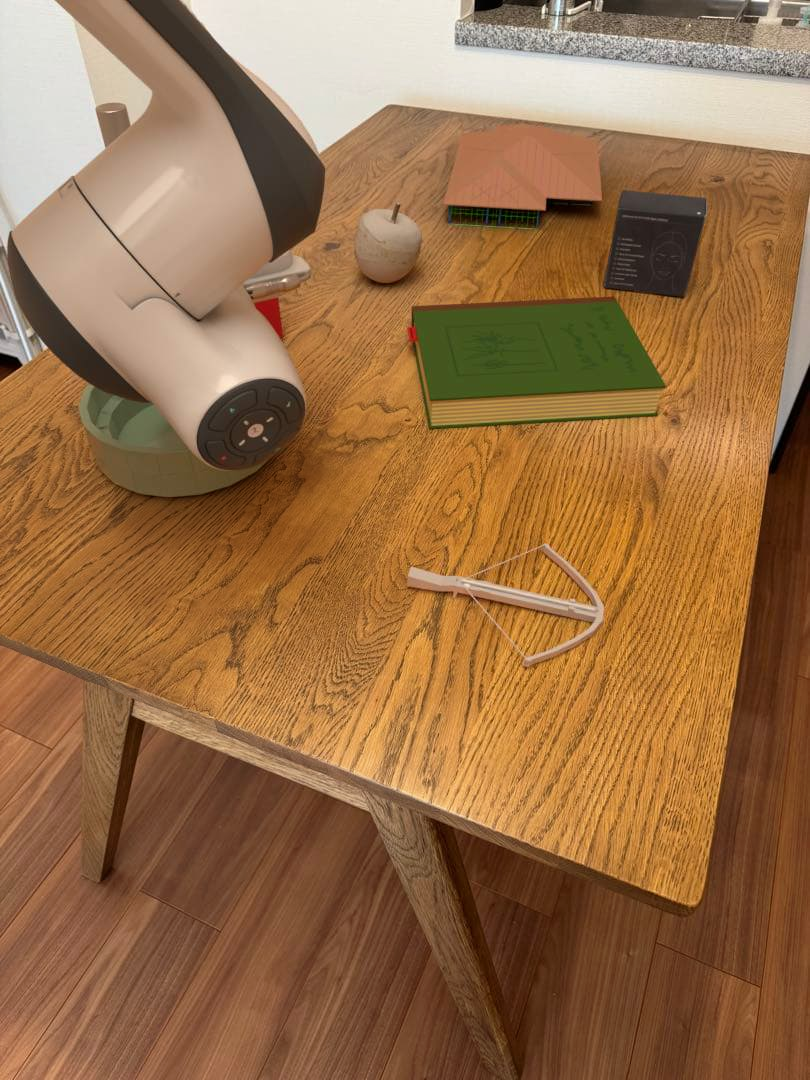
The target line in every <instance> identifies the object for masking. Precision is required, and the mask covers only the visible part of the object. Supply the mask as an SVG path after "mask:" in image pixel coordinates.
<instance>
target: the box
mask: <svg viewBox="0 0 810 1080" xmlns="http://www.w3.org/2000/svg"><path fill="white" fill-rule="evenodd" d="M616 209H617V210H616V214H615V222H614V226H613V231H612V237H611V243H610V248H609V253H608V258H607V264H606V270H605V275H604V279H603V283H602V287H604V288H605V289H611V290H612V289H614V290H621V291H629V292H634V293H635V292H636V293H644V294H651V295H653V294H654V295H664V296H671V297H678V298H685V297H686V296H687V292H688V287H689V283H690V278H691V277H692V276H691V275H692V272H693V267H694V264H695V261H696V256H697V252H698V248H699V245H700V241H701V238H702V234H703V229H704V226H705V222H706V220H707V217H708V202H707V198H706V197H700V196H688V195H680V194H679V195H678V194H669V193H658V192H648V191H645V192H644V191H637V190H627V189H626V190H625V189H623V190H621V192H620V195H619V199H618V203H617V208H616Z"/></svg>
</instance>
